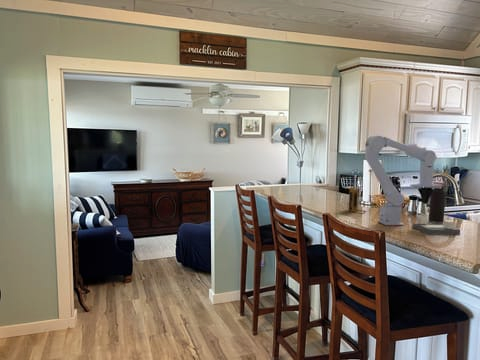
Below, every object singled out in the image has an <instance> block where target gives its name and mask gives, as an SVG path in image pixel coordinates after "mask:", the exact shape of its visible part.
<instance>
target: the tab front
mask: <svg viewBox="0 0 480 360" xmlns="http://www.w3.org/2000/svg"><path fill="white" fill-rule="evenodd" d="M455 223H456V222H455V221H453V220H452V219H451V220H447V219H446V220H445V219H444V221H443V227H445V228H447V229H454V228H455Z"/></svg>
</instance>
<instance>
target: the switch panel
mask: <svg viewBox="0 0 480 360" xmlns="http://www.w3.org/2000/svg"><path fill="white" fill-rule="evenodd" d="M443 224H444V222H427V224H420V223H417V222H413V223H412V228H414V229H416V230H418V231H420V232H423V233H425V234H427V235H460V234H461V229H459V228H456V227H454V229H447V228H445V227H443Z"/></svg>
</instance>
